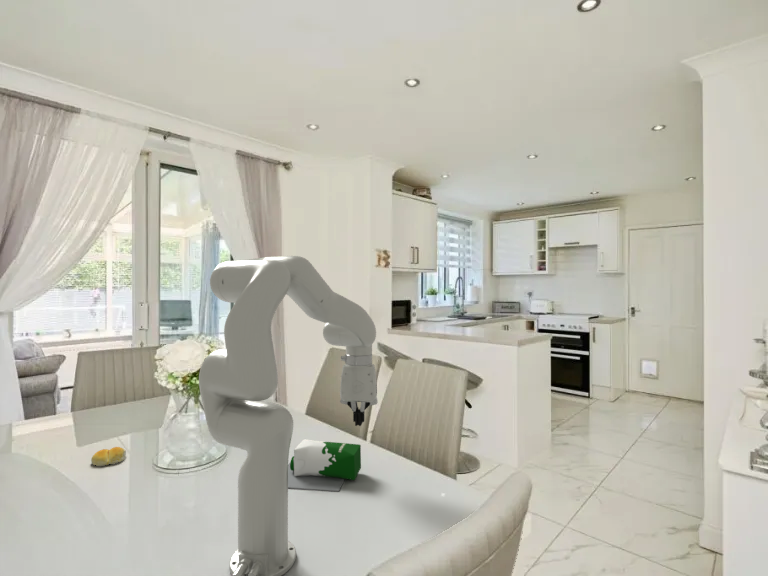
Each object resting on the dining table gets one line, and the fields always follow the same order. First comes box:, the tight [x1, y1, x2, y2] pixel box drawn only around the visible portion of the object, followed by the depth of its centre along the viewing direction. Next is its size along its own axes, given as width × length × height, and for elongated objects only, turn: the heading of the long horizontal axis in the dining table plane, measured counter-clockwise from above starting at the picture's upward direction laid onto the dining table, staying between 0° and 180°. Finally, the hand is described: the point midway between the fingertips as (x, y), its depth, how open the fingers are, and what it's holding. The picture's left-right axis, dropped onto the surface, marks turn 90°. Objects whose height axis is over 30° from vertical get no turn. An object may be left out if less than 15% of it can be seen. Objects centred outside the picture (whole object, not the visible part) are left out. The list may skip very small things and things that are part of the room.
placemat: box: [288, 462, 345, 492], centre depth 117 cm, size 16×19×1 cm
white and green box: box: [290, 438, 362, 481], centre depth 118 cm, size 9×9×20 cm
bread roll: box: [90, 446, 127, 467], centre depth 127 cm, size 8×9×4 cm
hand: (358, 424), depth 116 cm, fingers closed
